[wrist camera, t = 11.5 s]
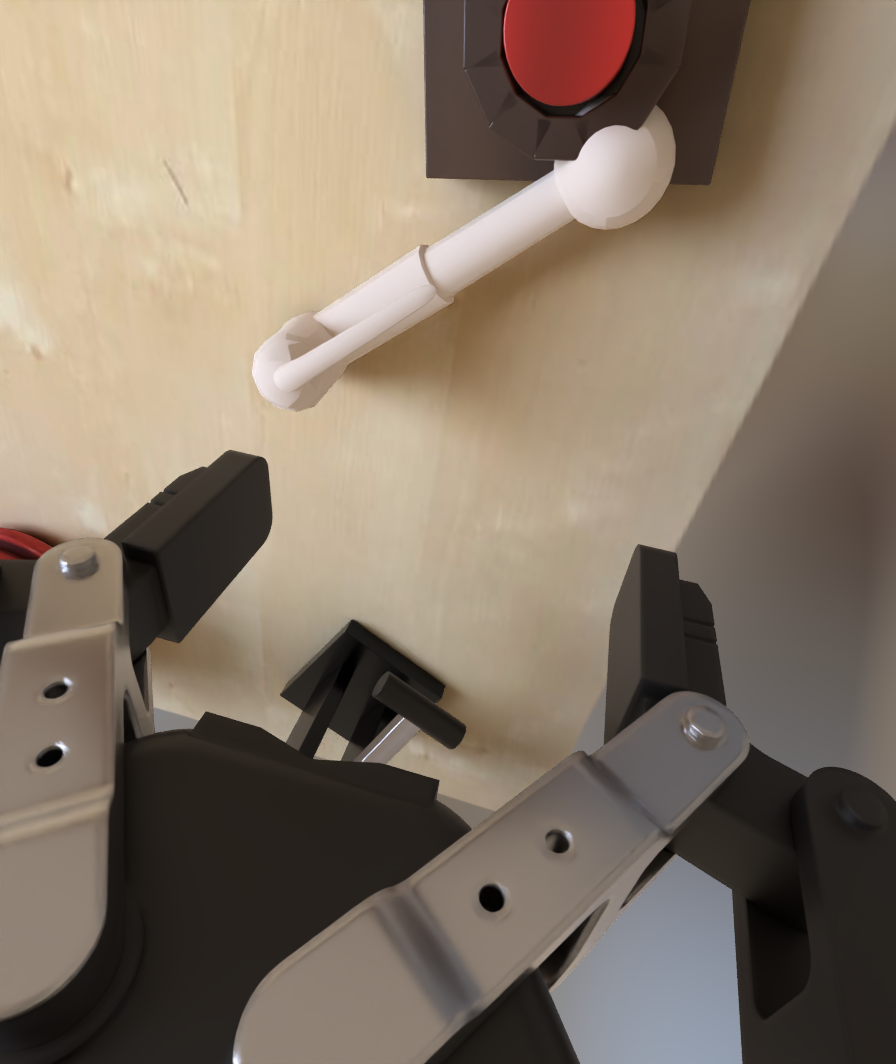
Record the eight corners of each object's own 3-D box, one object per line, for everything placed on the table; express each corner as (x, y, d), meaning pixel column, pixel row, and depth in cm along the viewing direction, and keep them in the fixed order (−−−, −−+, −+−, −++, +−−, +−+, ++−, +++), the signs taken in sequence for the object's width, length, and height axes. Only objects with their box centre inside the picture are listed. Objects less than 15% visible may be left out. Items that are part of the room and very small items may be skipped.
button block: (770, -137, 18) (801, -189, 15) (704, 179, 22) (716, 191, 19) (439, -113, 20) (402, -156, 16) (440, 173, 24) (411, 183, 21)
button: (645, -54, 17) (647, -68, 15) (623, 106, 19) (623, 106, 17) (516, -48, 17) (506, -61, 16) (508, 106, 20) (499, 105, 18)
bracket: (352, 618, 40) (248, 811, 29) (445, 685, 42) (380, 892, 31) (286, 683, 46) (179, 865, 35) (371, 740, 48) (294, 931, 37)
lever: (392, 661, 31) (385, 688, 29) (466, 713, 32) (466, 744, 30) (245, 820, 35) (230, 855, 33) (315, 863, 36) (305, 900, 34)
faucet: (640, 194, 27) (752, 169, 18) (313, 401, 30) (269, 468, 21) (603, 99, 25) (705, 19, 16) (261, 328, 28) (190, 366, 20)
